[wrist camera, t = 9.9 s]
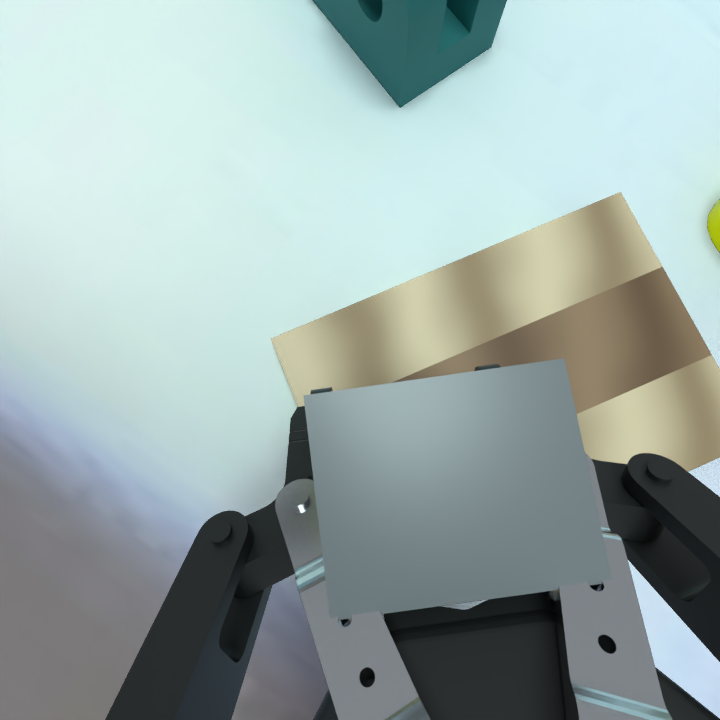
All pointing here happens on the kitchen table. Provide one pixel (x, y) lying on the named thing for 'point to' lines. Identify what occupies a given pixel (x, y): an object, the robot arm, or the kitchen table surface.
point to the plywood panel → (540, 334)
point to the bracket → (414, 38)
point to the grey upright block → (453, 490)
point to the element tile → (715, 225)
